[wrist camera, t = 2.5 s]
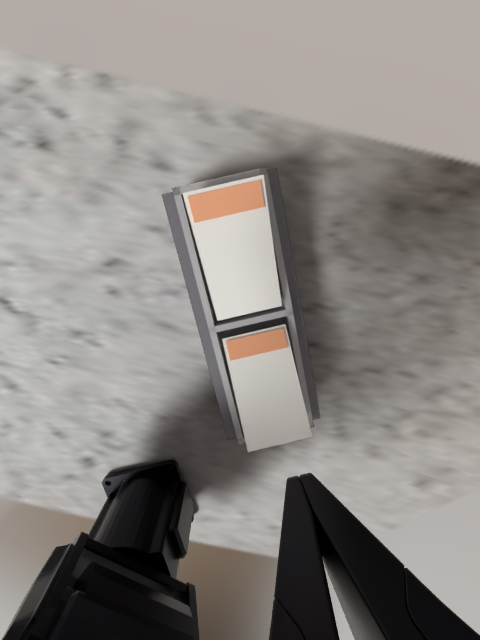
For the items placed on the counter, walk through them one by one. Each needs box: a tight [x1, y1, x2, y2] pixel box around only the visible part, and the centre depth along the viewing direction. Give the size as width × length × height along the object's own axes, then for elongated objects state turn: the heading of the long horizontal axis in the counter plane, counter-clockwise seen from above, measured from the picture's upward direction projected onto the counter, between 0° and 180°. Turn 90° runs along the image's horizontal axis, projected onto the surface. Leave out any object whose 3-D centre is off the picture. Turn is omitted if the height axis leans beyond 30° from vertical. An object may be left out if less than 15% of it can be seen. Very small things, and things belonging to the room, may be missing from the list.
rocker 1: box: [183, 175, 282, 321], centre depth 14 cm, size 4×7×1 cm, turn 13°
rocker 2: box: [222, 324, 312, 452], centre depth 15 cm, size 4×7×1 cm, turn 13°
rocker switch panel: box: [162, 167, 320, 444], centre depth 17 cm, size 7×17×4 cm, turn 13°
